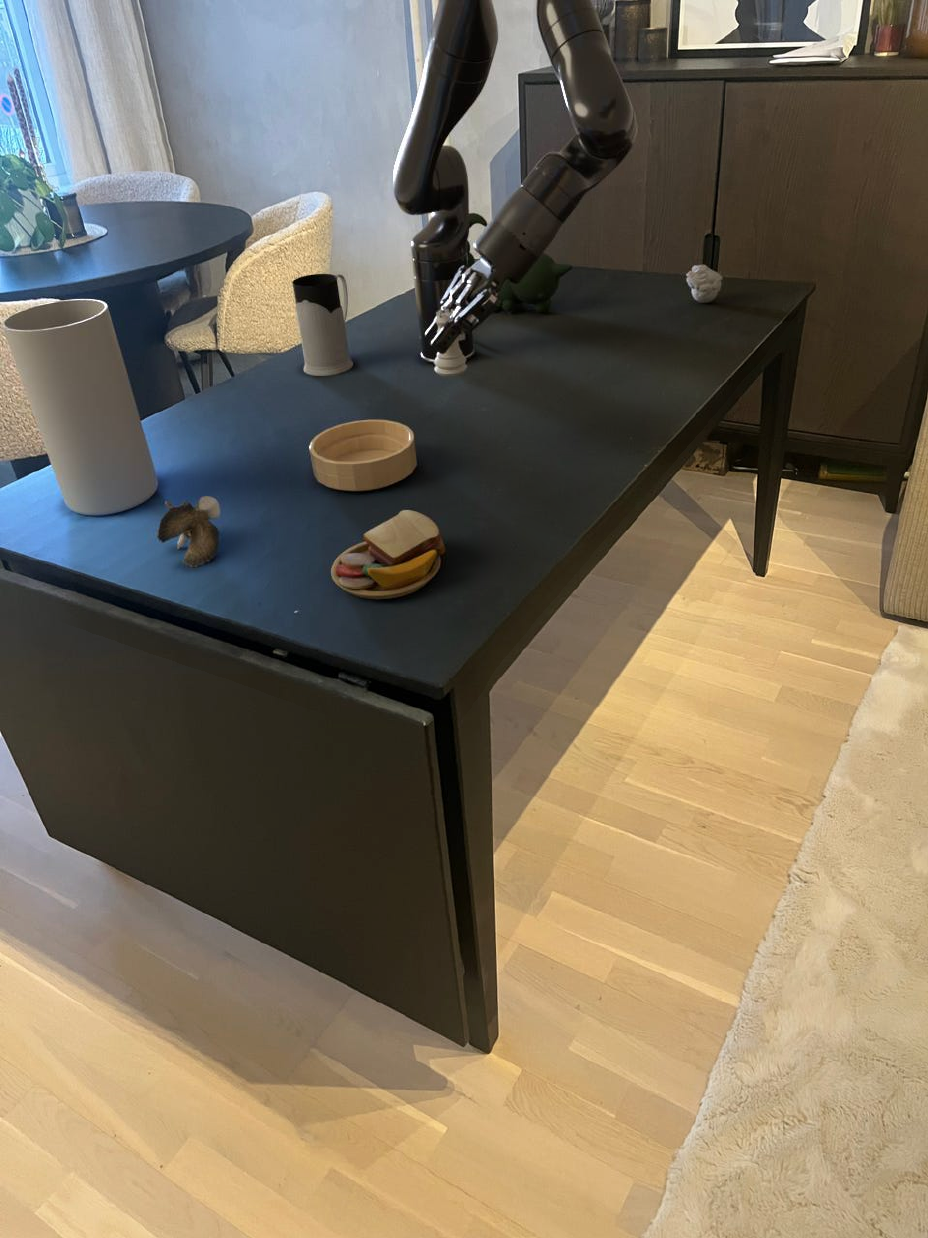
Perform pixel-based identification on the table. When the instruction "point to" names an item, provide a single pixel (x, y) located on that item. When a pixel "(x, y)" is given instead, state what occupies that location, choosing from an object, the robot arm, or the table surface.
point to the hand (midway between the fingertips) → (433, 344)
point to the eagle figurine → (192, 529)
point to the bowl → (363, 455)
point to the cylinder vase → (83, 404)
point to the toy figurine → (527, 279)
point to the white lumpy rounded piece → (704, 283)
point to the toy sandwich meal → (391, 558)
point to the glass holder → (322, 324)
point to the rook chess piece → (449, 352)
